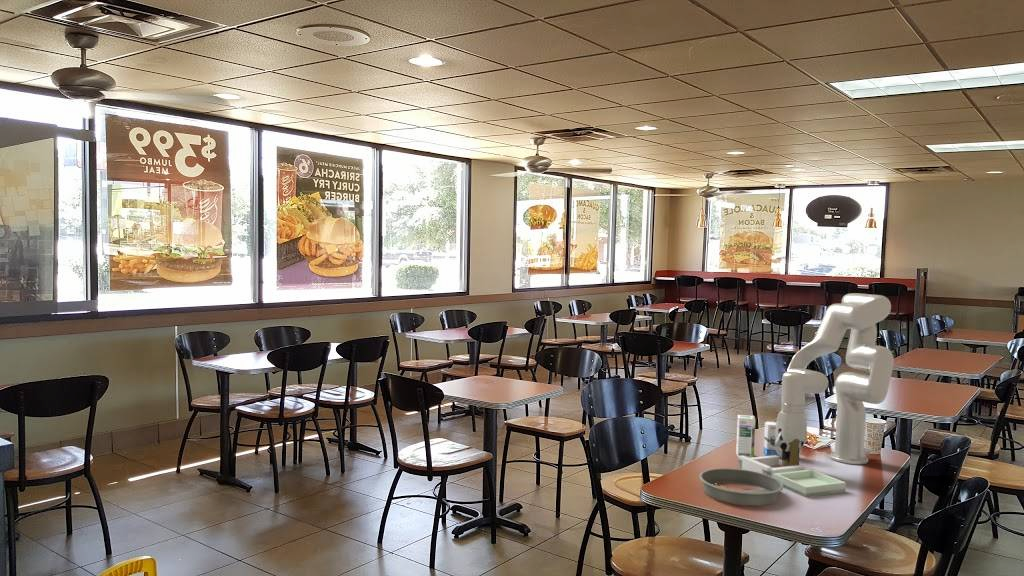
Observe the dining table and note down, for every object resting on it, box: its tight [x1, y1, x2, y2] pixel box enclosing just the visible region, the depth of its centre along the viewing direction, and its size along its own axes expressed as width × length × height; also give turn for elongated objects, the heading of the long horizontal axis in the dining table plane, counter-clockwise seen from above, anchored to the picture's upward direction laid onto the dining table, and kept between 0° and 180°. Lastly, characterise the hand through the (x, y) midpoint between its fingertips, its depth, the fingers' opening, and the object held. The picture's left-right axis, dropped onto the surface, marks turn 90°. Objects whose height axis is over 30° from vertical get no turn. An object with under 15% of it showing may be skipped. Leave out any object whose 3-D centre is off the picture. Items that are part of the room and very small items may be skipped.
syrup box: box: [735, 414, 756, 458], centre depth 265 cm, size 6×6×14 cm
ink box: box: [763, 421, 782, 458], centre depth 266 cm, size 9×5×12 cm, turn 84°
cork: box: [780, 439, 800, 467], centre depth 250 cm, size 6×6×11 cm
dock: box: [737, 455, 806, 477], centre depth 247 cm, size 16×14×4 cm
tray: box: [773, 468, 847, 498], centre depth 231 cm, size 16×14×3 cm
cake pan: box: [699, 467, 784, 506], centre depth 223 cm, size 25×25×4 cm
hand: (790, 460), depth 250 cm, fingers closed on cork, 3 cm apart
